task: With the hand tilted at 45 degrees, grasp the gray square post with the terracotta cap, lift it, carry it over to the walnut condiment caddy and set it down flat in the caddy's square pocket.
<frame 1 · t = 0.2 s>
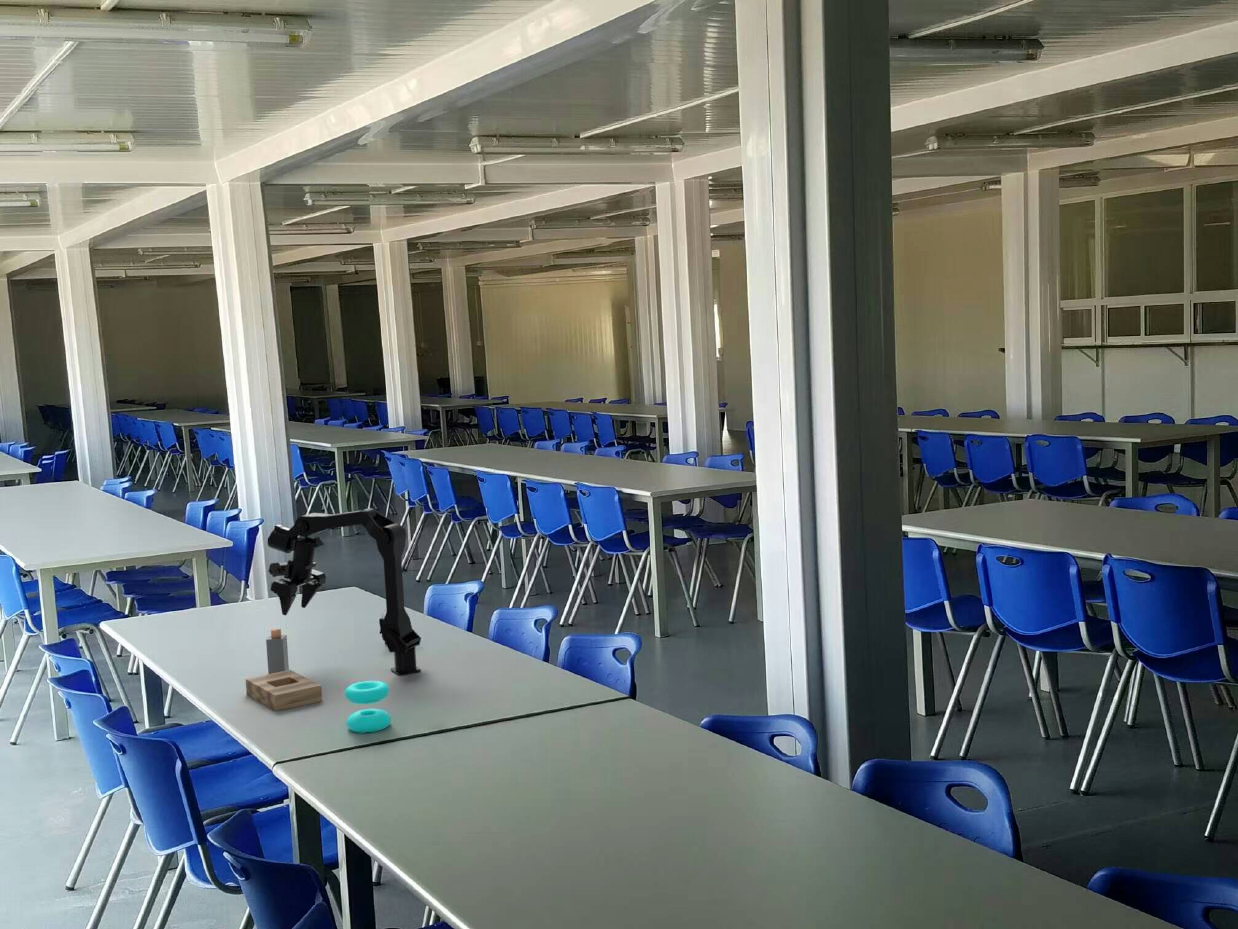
hand: (293, 611, 340), 15 cm above the table, tool tilted 15°, fingers open, 9 cm apart
watch: (396, 645, 360), on the table
gray square post: (279, 677, 329), on the table
caddy: (283, 697, 310), on the table
donuts: (369, 728, 283), on the table
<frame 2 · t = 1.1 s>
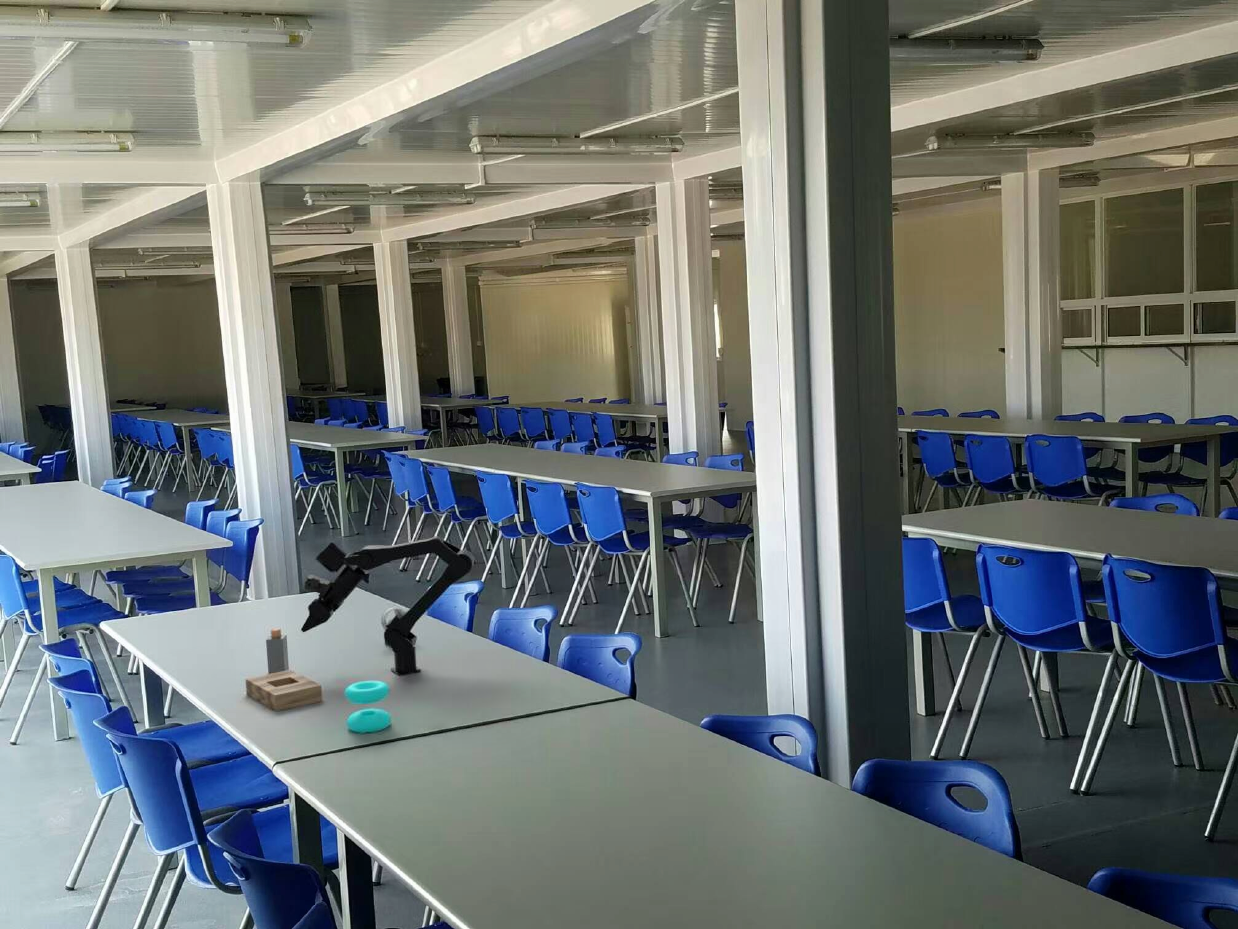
hand: (306, 627, 328), 13 cm above the table, tool tilted 45°, fingers open, 9 cm apart
nothing on the table moved.
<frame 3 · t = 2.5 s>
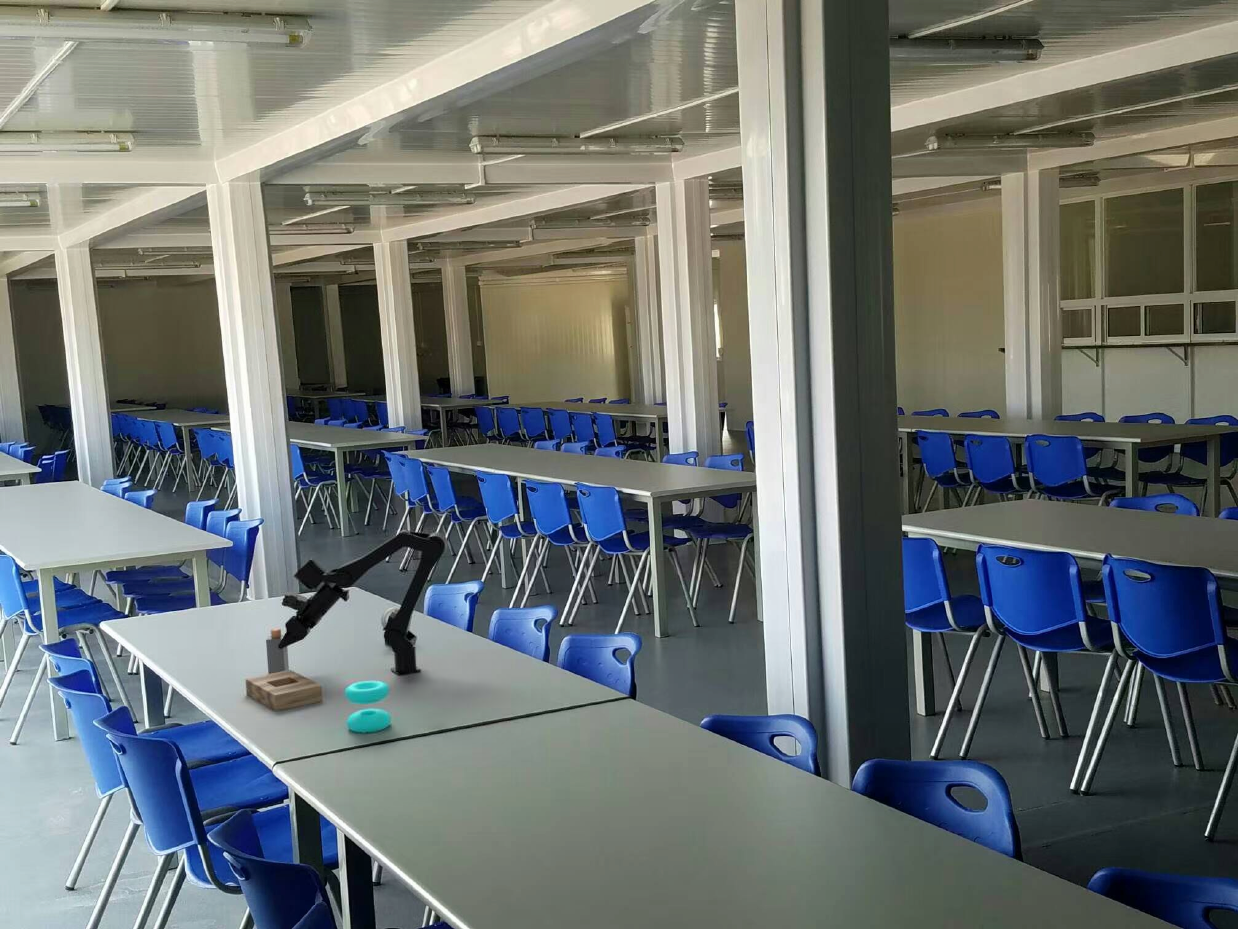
hand: (283, 643, 329), 9 cm above the table, tool tilted 45°, fingers open, 9 cm apart
nothing on the table moved.
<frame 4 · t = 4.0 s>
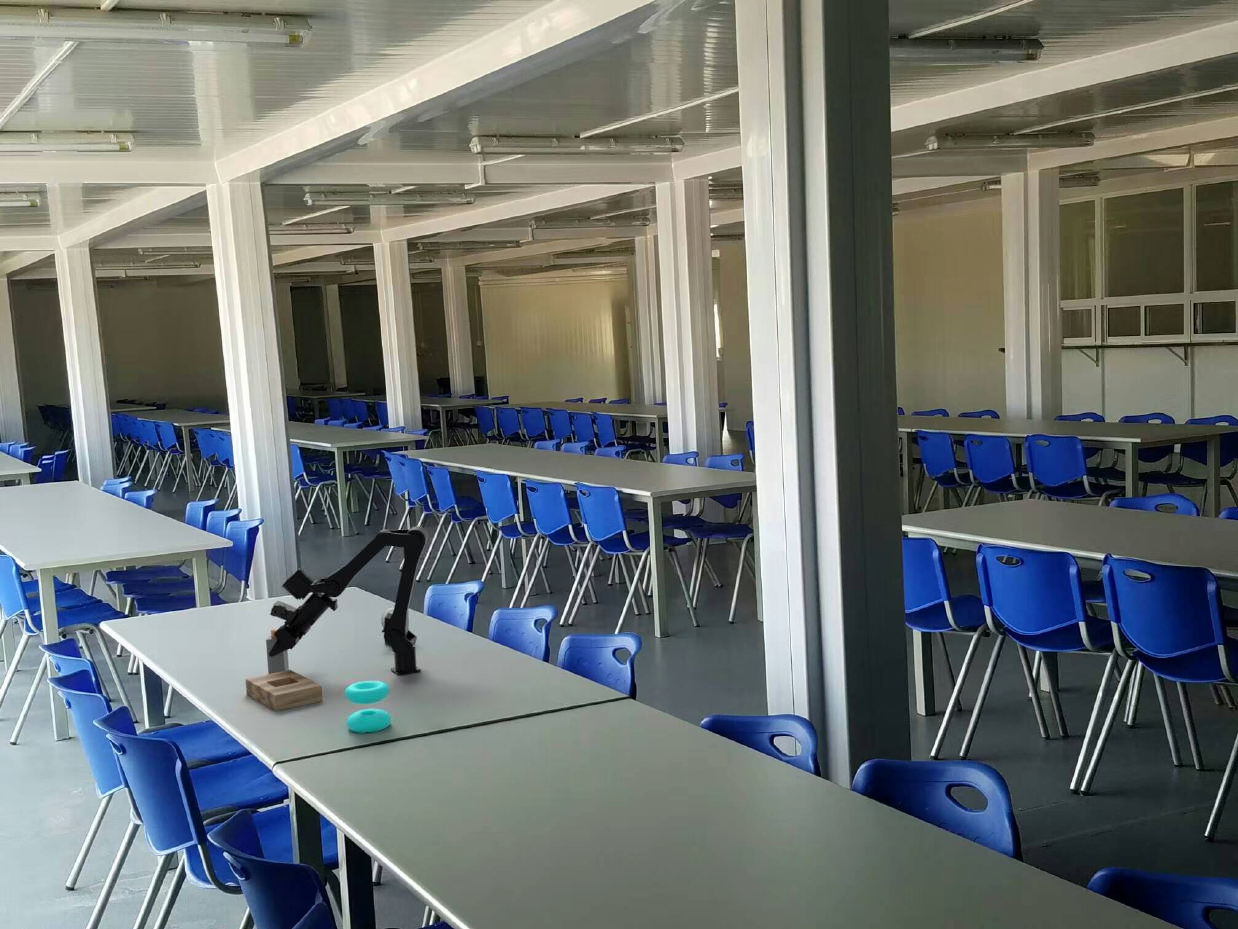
hand: (272, 653, 329), 7 cm above the table, tool tilted 45°, fingers closed on gray square post, 4 cm apart
gray square post: (279, 677, 329), on the table, touching gripper
everything else where it was.
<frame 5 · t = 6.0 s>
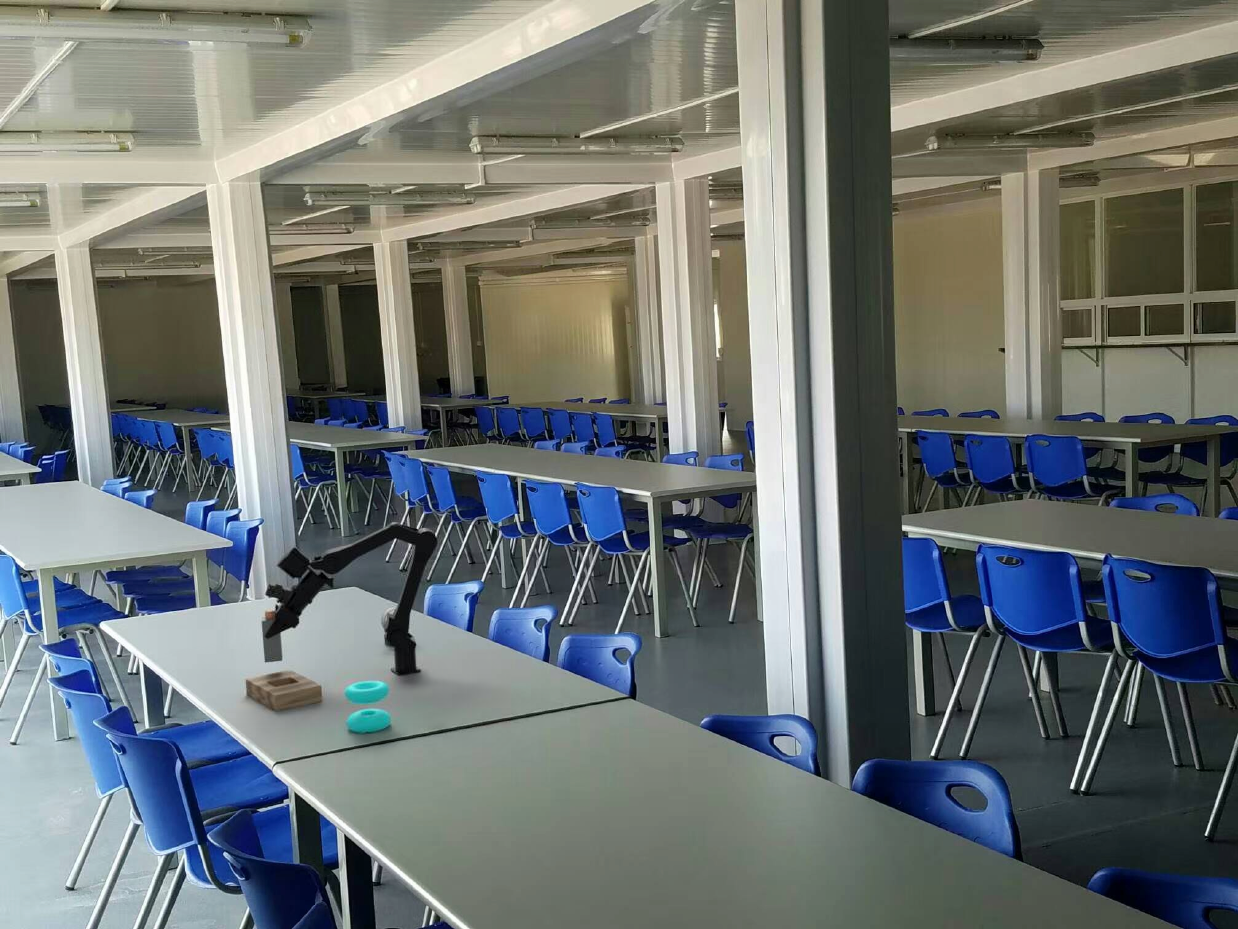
hand: (266, 635, 320), 13 cm above the table, tool tilted 45°, fingers closed on gray square post, 4 cm apart
gray square post: (273, 659, 321), point 7 cm above the table, touching gripper
everything else where it was.
when the fingers open (9 cm above the table, at t = 8.3 s): gray square post drops 1 cm, resting on caddy.
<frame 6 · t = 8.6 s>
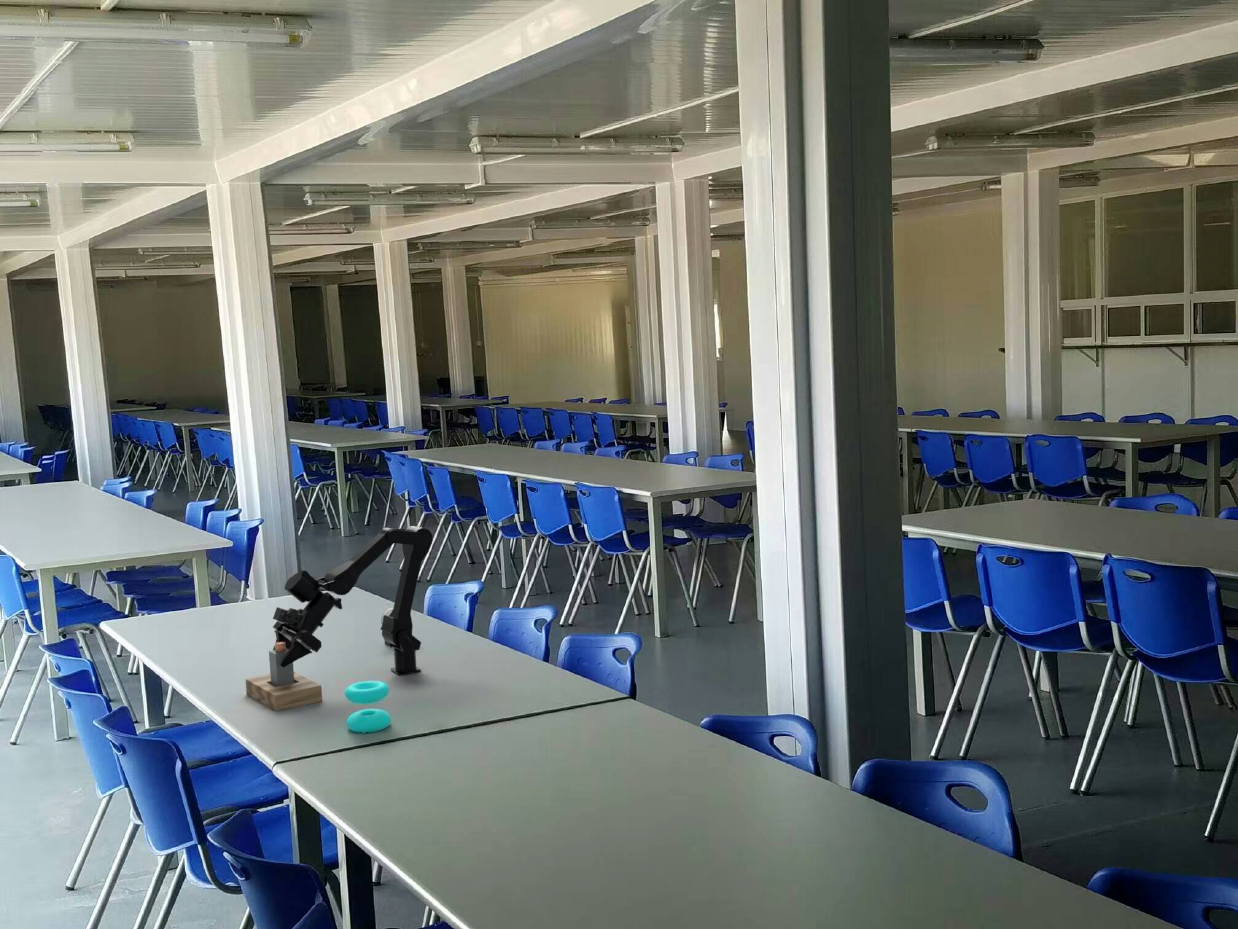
hand: (276, 663, 308), 9 cm above the table, tool tilted 45°, fingers open, 7 cm apart
gray square post: (283, 693, 310), point 1 cm above the table, touching caddy
everything else where it was.
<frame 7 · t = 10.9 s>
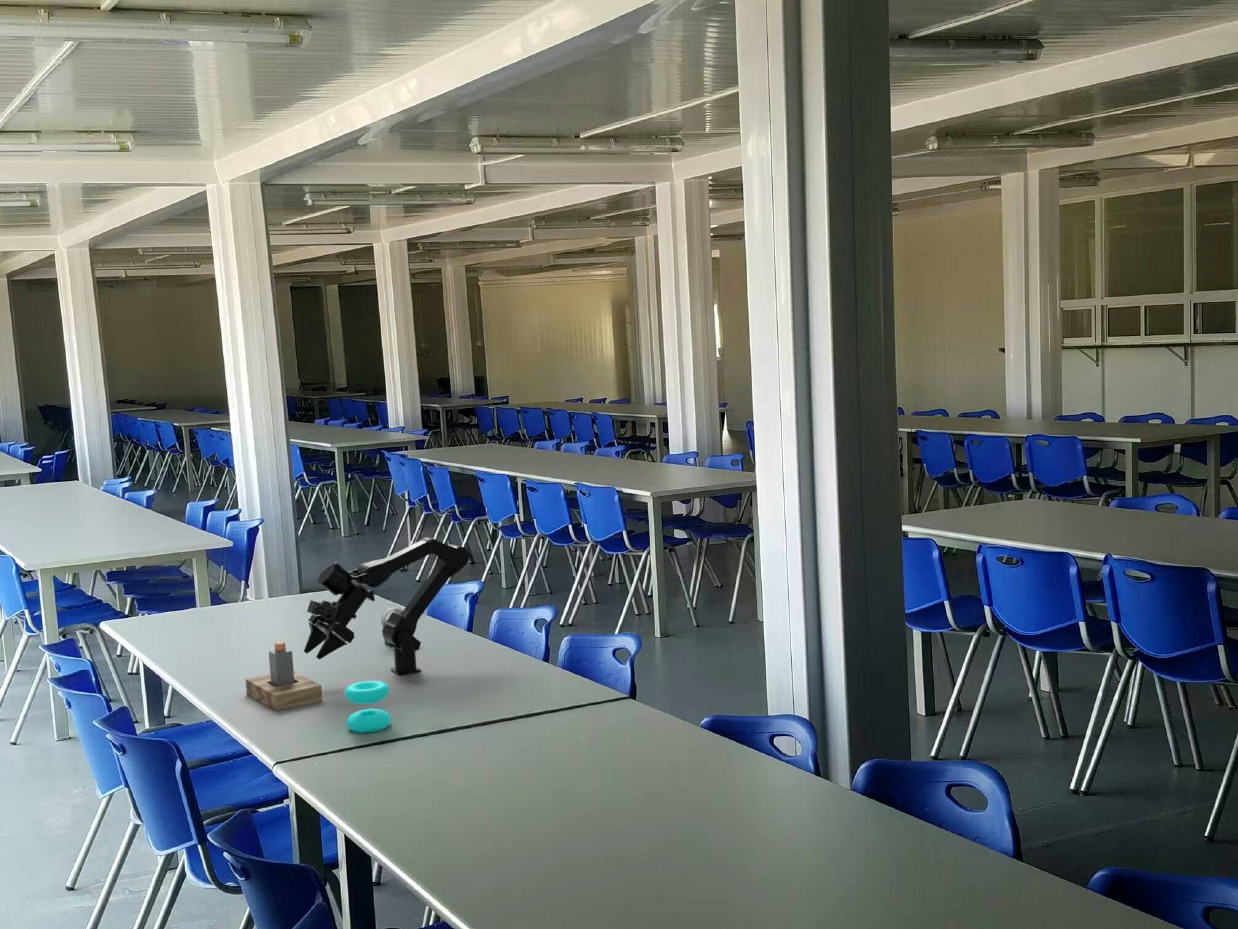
hand: (311, 655, 315), 9 cm above the table, tool tilted 45°, fingers open, 9 cm apart
nothing on the table moved.
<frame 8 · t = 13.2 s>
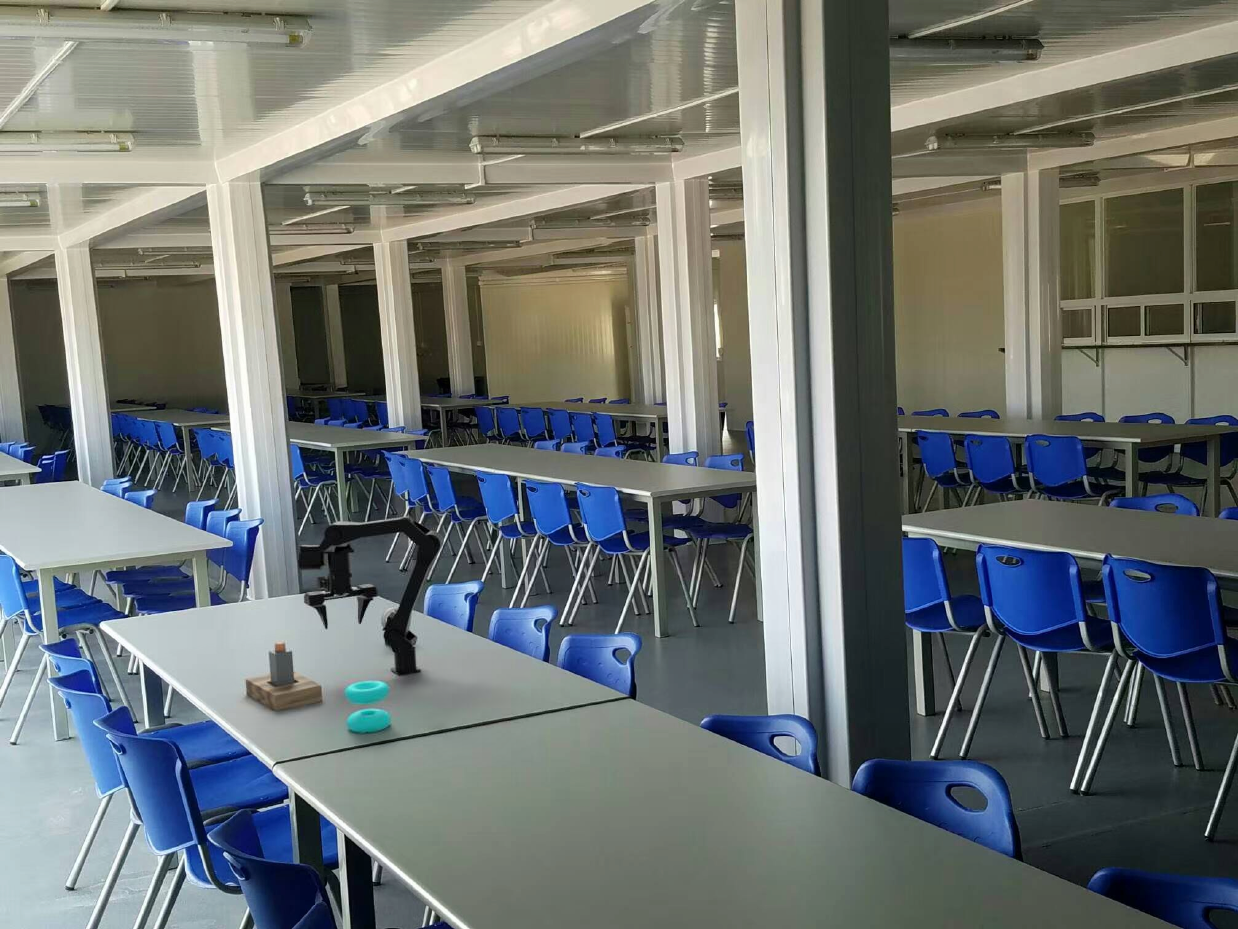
hand: (343, 626, 329), 13 cm above the table, tool pointing down, fingers open, 9 cm apart
nothing on the table moved.
at the end: gray square post 0.1 cm off-centre on the caddy, point 1.0 cm above the caddy's base; gray square post tilted 0°; the gripper is holding nothing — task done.
